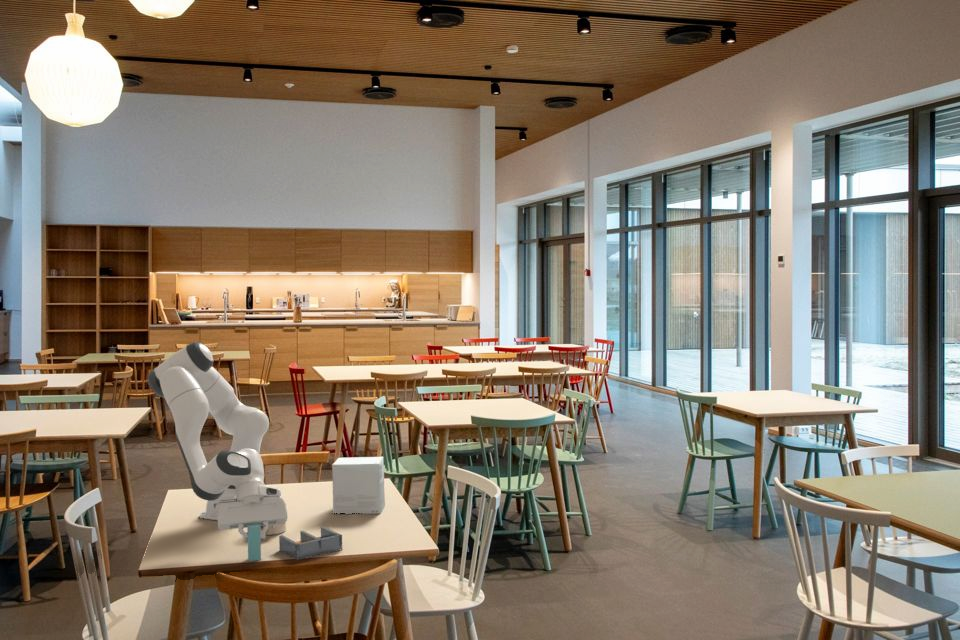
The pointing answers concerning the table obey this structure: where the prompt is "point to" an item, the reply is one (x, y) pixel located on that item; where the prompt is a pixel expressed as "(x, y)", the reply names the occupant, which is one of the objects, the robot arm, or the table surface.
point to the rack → (311, 544)
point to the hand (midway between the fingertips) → (254, 538)
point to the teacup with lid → (274, 528)
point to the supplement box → (358, 485)
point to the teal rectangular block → (254, 542)
